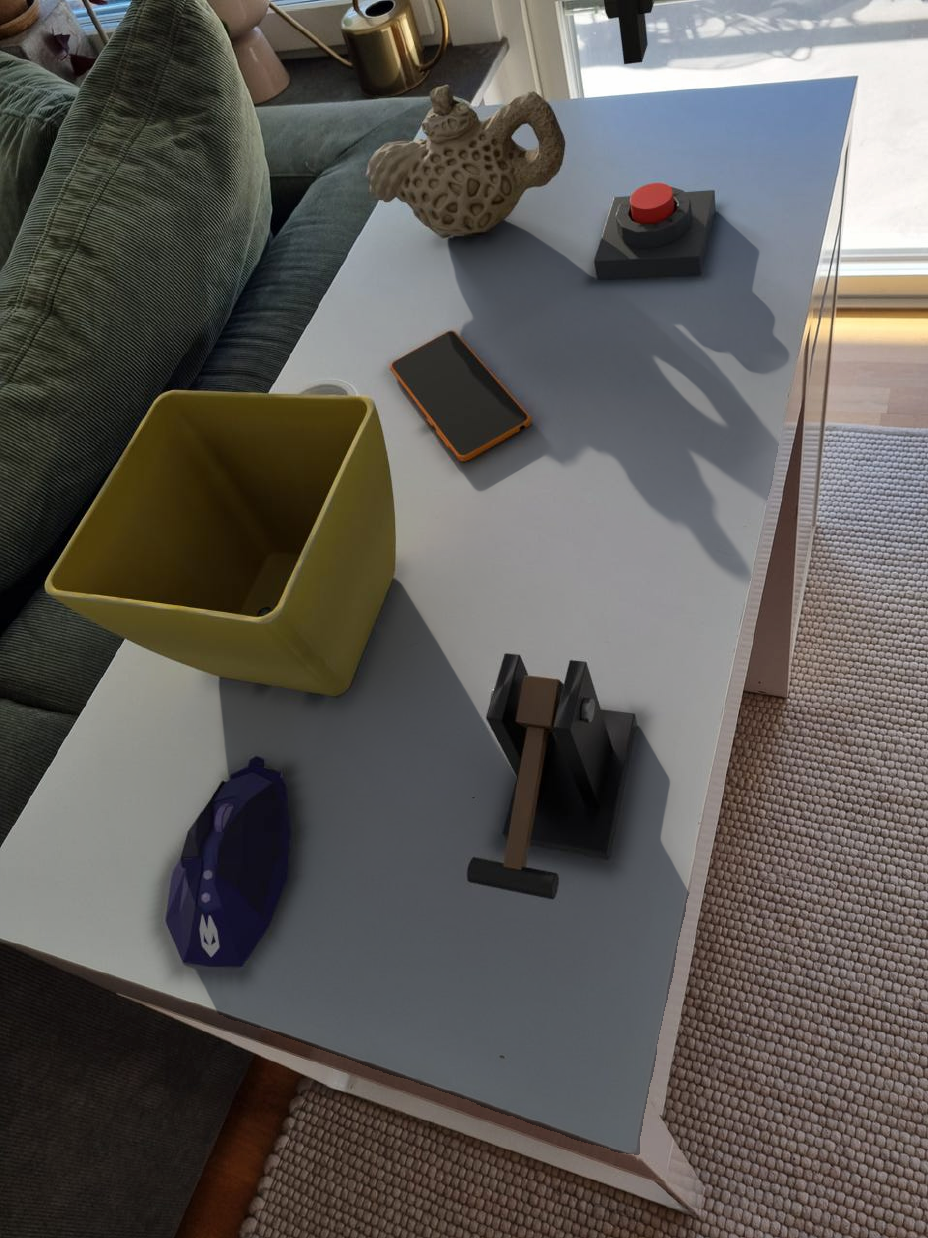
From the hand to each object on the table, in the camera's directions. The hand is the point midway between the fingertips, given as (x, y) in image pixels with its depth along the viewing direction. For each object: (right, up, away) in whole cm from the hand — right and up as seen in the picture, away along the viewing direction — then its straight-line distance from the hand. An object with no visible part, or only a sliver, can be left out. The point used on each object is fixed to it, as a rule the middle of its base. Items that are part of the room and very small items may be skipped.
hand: (635, 53), depth 78 cm
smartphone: (-15, -26, +10) cm, 32 cm away
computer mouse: (-31, -64, -10) cm, 72 cm away
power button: (+4, -8, +12) cm, 15 cm away
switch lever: (-10, -57, -23) cm, 62 cm away
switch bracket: (-7, -58, -14) cm, 60 cm away
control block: (+5, -10, +15) cm, 18 cm away
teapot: (-12, -4, +25) cm, 28 cm away
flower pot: (-27, -47, 0) cm, 55 cm away
